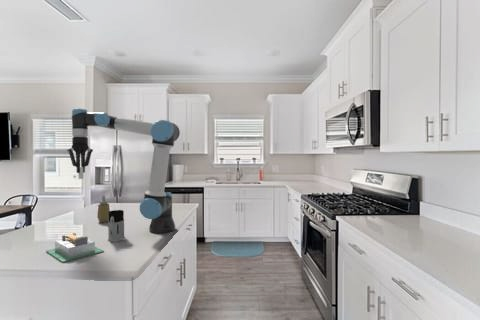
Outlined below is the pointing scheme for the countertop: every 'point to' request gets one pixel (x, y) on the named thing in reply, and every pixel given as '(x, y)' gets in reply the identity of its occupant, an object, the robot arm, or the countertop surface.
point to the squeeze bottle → (103, 210)
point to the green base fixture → (73, 249)
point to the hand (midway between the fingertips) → (80, 178)
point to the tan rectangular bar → (72, 237)
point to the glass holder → (116, 225)
